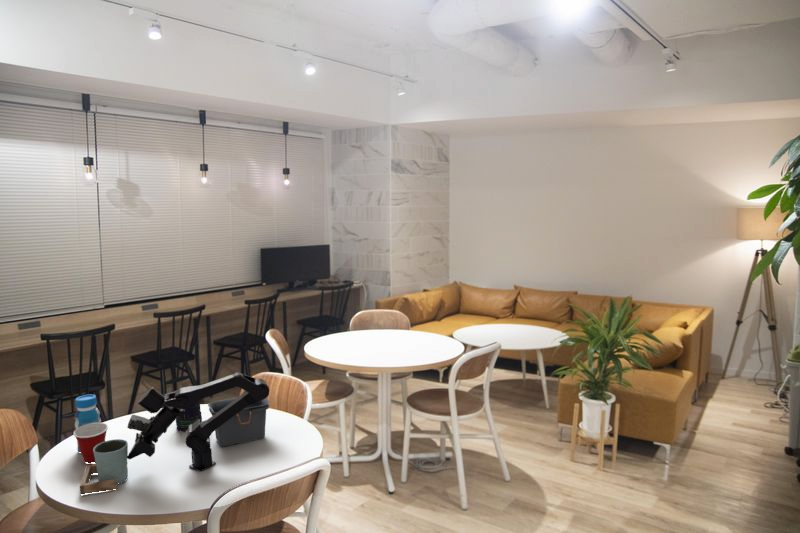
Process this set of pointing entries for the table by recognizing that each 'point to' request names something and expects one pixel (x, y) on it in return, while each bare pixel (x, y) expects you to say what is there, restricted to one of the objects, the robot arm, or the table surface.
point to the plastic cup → (90, 439)
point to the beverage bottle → (86, 411)
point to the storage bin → (241, 422)
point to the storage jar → (189, 417)
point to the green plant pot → (112, 460)
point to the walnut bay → (95, 486)
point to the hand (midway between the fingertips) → (128, 458)
